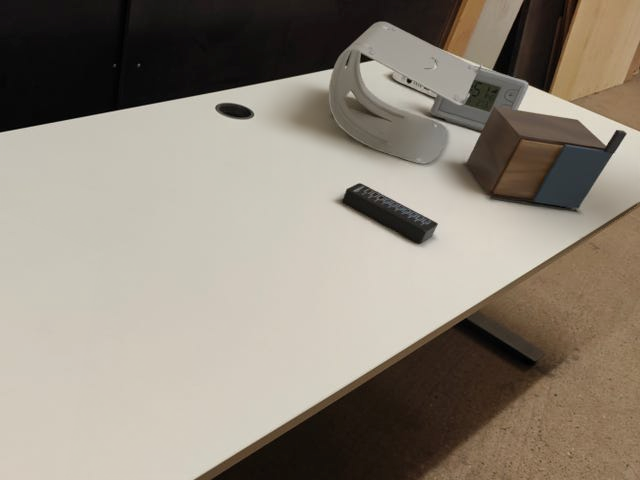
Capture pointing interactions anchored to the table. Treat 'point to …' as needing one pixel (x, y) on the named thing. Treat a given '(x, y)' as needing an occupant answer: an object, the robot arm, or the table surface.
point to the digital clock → (482, 99)
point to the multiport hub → (389, 213)
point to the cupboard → (523, 152)
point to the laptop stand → (399, 126)
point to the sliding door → (575, 173)
